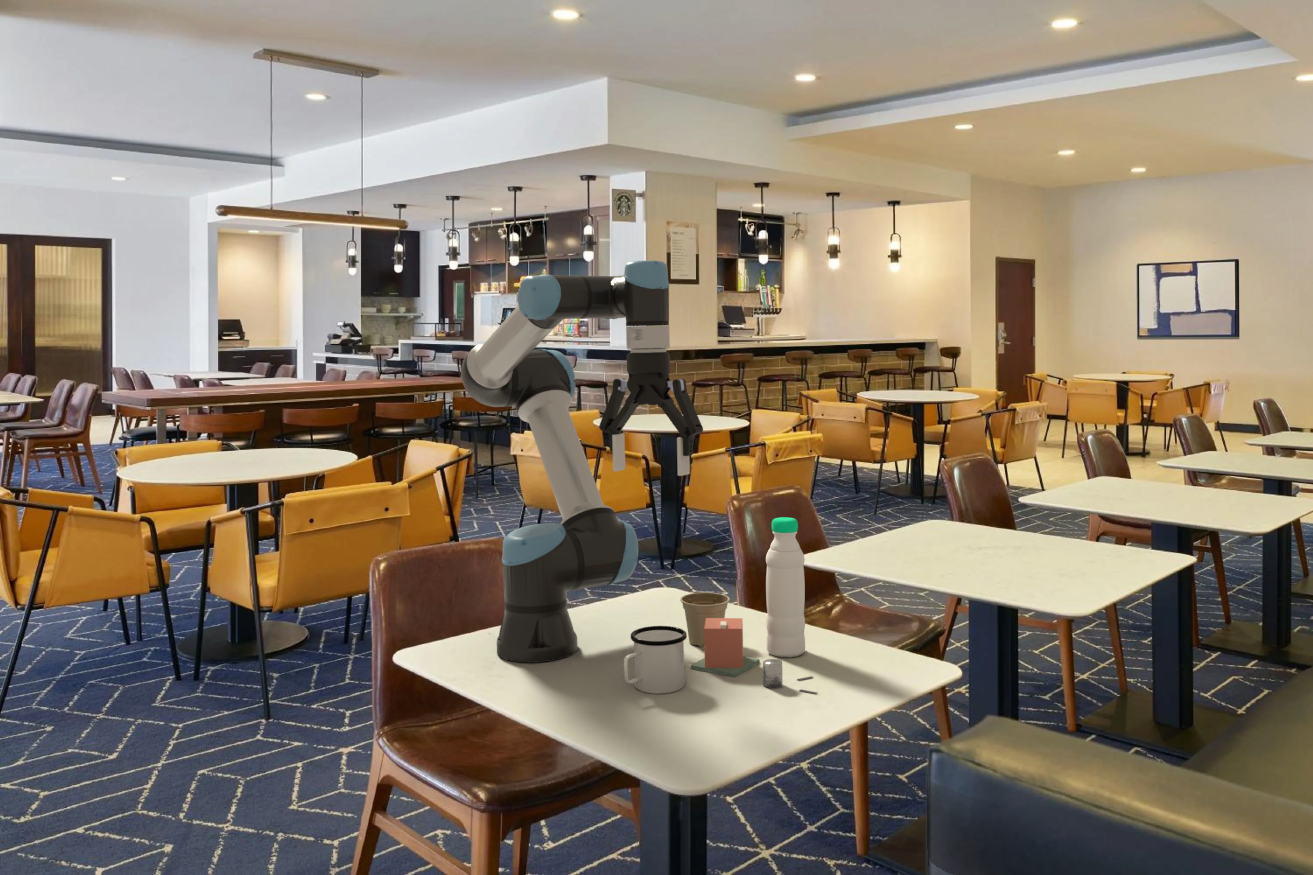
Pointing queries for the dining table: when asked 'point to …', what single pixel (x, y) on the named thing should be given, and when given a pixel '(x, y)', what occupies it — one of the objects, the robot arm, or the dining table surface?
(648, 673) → the mug
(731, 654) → the orange box with tab
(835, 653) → the dining table surface
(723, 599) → the flower pot
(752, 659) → the pad
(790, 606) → the water bottle
